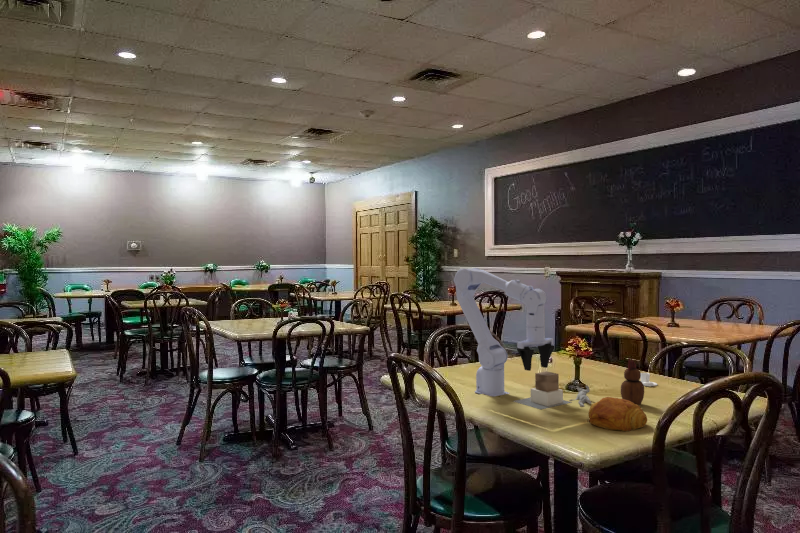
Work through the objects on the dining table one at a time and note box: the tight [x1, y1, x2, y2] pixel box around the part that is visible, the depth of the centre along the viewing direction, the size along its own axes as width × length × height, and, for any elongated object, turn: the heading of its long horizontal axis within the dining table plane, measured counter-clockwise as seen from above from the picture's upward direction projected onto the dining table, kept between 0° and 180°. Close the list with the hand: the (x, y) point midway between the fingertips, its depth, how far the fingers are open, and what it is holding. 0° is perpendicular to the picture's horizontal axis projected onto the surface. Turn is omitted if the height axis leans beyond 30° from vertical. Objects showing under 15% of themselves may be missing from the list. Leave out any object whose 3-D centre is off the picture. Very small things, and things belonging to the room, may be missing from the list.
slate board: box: [512, 396, 573, 411], centre depth 179 cm, size 12×14×1 cm
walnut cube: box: [534, 370, 560, 392], centre depth 179 cm, size 5×5×5 cm
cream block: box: [530, 387, 564, 406], centre depth 179 cm, size 7×7×4 cm
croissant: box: [587, 396, 648, 432], centre depth 157 cm, size 14×16×8 cm
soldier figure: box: [569, 385, 592, 407], centre depth 179 cm, size 8×5×12 cm
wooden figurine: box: [620, 356, 645, 406], centre depth 177 cm, size 7×6×15 cm
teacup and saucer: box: [640, 372, 659, 387], centre depth 204 cm, size 9×8×4 cm
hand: (536, 368), depth 182 cm, fingers open, 7 cm apart
